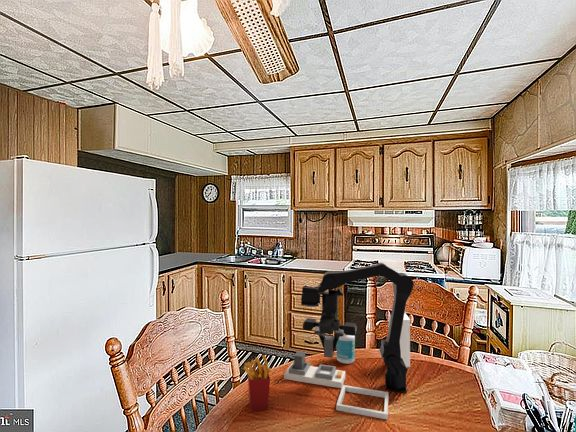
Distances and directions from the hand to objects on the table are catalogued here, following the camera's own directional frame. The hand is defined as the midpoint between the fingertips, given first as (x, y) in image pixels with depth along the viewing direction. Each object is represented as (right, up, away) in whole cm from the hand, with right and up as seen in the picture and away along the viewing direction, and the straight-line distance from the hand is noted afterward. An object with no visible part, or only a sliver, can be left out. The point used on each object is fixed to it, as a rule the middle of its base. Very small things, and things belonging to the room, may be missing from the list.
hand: (329, 350), depth 118 cm
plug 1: (-10, -9, +5) cm, 15 cm away
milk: (+30, -12, +14) cm, 35 cm away
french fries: (-25, -11, -15) cm, 31 cm away
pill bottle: (+9, -12, +18) cm, 23 cm away
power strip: (-5, -11, +3) cm, 13 cm away
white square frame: (+9, -11, -14) cm, 20 cm away
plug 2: (0, -2, 0) cm, 2 cm away
